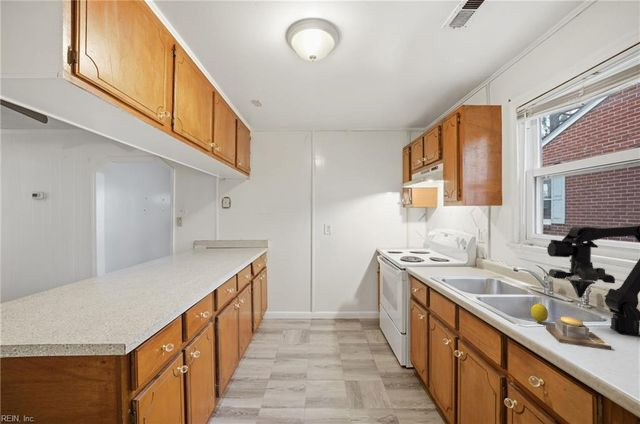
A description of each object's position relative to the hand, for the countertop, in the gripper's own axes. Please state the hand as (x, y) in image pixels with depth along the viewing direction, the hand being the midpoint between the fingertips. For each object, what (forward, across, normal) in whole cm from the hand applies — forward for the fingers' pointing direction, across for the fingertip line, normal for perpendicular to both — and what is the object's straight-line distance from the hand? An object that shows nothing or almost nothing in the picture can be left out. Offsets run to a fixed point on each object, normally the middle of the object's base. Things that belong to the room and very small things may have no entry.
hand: (579, 297), depth 112 cm
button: (+11, -7, -12) cm, 17 cm away
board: (+12, -6, -13) cm, 19 cm away
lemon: (+12, -13, 0) cm, 18 cm away
